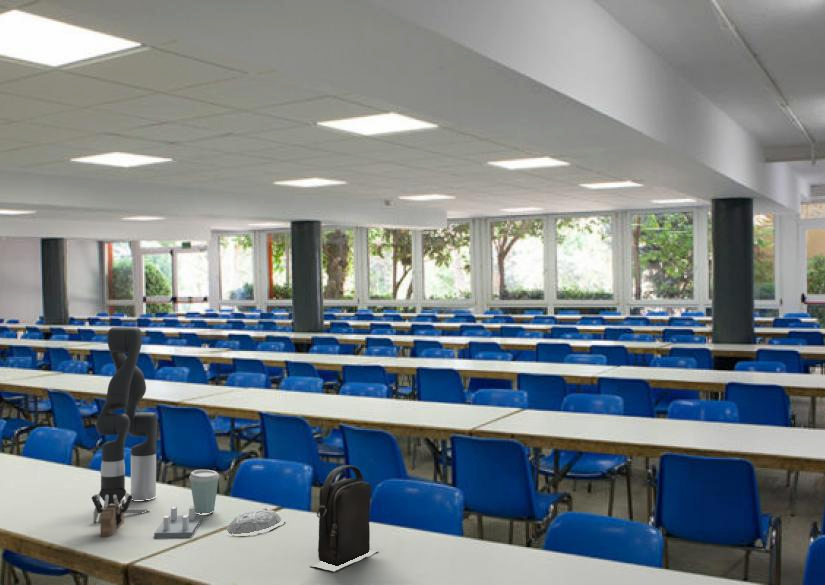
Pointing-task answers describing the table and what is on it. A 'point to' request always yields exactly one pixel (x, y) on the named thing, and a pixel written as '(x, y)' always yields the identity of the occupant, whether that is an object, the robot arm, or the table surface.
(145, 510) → the caliper
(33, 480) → the table surface
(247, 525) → the oval brooch
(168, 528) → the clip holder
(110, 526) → the cabinet door
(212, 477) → the disposable coffee cup
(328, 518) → the shoulder bag
